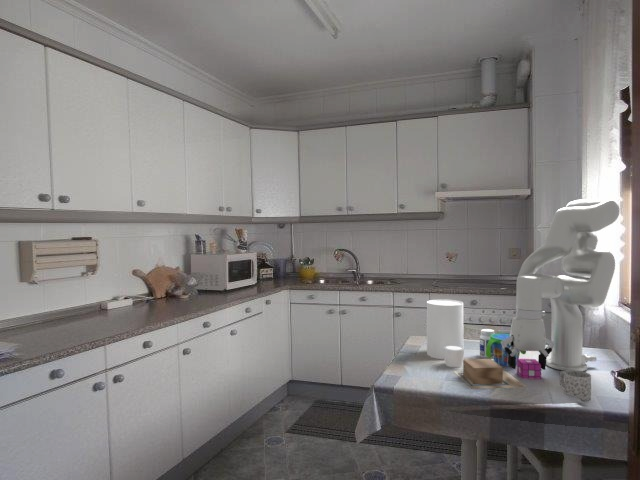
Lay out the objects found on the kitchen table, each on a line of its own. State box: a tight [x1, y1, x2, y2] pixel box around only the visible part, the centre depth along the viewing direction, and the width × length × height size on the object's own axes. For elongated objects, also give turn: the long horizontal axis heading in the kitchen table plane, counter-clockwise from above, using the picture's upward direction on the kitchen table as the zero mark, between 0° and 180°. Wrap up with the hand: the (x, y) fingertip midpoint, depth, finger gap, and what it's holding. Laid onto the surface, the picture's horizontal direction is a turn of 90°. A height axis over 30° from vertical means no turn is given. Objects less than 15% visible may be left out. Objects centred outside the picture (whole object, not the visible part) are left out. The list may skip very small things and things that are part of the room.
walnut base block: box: [462, 358, 504, 384], centre depth 144 cm, size 9×9×5 cm
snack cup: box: [486, 333, 527, 367], centre depth 160 cm, size 16×10×10 cm
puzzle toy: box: [516, 358, 542, 380], centre depth 147 cm, size 6×6×6 cm
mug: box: [559, 370, 592, 402], centre depth 133 cm, size 10×7×7 cm, turn 12°
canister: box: [426, 299, 464, 360], centre depth 174 cm, size 14×14×20 cm
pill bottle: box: [479, 328, 495, 359], centre depth 171 cm, size 6×6×10 cm
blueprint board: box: [453, 369, 528, 390], centre depth 144 cm, size 17×16×1 cm
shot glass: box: [444, 345, 465, 368], centre depth 159 cm, size 7×7×7 cm
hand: (527, 368), depth 146 cm, fingers open, 9 cm apart
